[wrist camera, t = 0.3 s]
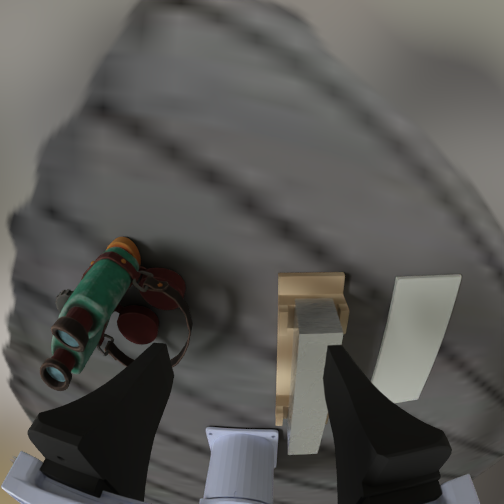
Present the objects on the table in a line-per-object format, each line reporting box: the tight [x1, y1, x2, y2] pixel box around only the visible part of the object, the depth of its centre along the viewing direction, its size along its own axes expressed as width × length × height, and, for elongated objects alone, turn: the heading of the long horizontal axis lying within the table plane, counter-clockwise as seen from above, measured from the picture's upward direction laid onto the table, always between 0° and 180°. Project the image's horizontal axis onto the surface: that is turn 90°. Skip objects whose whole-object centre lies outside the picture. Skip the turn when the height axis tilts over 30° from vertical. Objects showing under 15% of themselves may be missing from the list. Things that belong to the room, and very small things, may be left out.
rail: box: [287, 298, 343, 455], centre depth 21 cm, size 14×3×4 cm, turn 2°
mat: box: [371, 274, 462, 403], centre depth 24 cm, size 15×6×1 cm, turn 2°
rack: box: [275, 272, 349, 426], centre depth 24 cm, size 16×5×3 cm, turn 2°
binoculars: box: [40, 237, 193, 391], centre depth 19 cm, size 9×11×10 cm
